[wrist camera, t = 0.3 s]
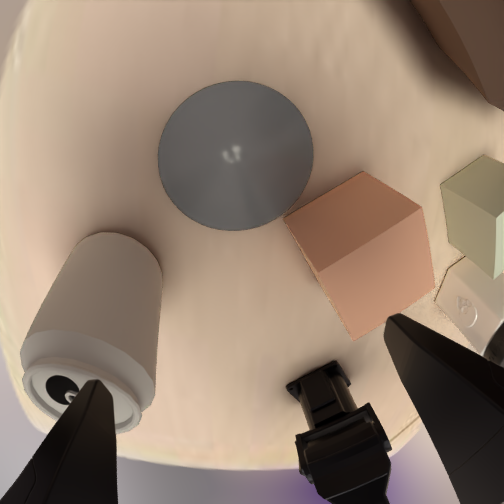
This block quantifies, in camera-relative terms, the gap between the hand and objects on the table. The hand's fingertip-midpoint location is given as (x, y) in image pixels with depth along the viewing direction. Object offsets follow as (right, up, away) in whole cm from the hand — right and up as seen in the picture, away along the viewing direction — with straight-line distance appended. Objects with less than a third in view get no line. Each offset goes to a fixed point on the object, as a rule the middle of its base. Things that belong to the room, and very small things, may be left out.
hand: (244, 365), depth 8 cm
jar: (+25, 0, +22) cm, 33 cm away
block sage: (+21, +8, +16) cm, 28 cm away
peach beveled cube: (+7, +5, +15) cm, 17 cm away
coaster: (-1, +9, +11) cm, 14 cm away
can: (-10, +2, +13) cm, 17 cm away
